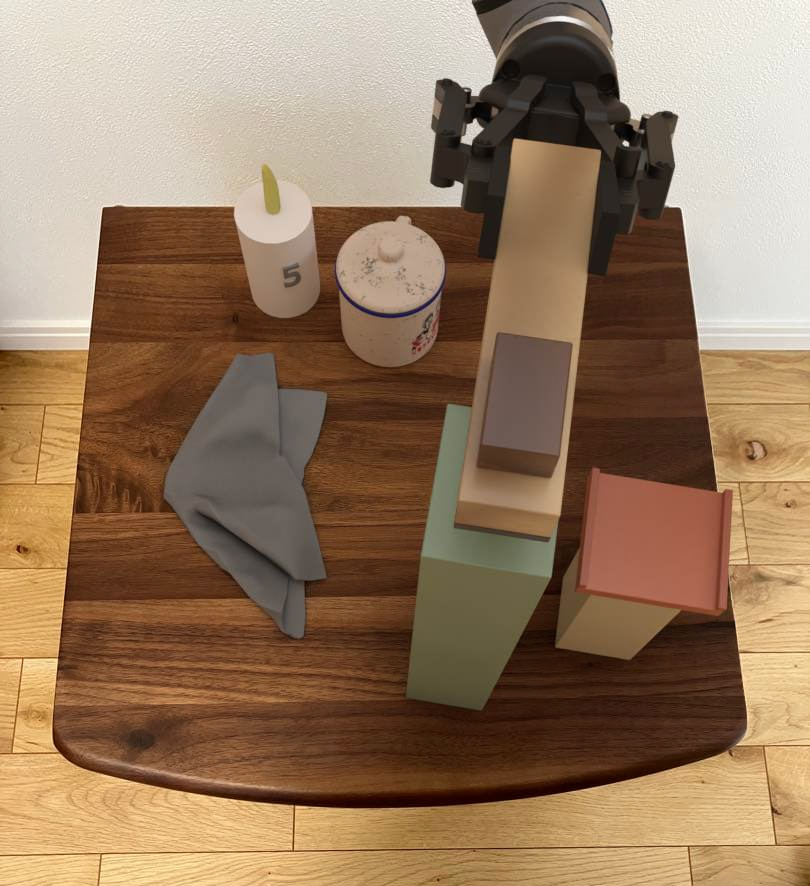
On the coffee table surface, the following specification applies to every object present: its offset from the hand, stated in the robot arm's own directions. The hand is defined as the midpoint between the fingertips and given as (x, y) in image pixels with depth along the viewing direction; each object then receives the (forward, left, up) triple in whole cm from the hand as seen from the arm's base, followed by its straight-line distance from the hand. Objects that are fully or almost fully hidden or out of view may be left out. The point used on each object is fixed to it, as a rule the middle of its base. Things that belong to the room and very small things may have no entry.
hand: (547, 235), depth 40 cm
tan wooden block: (0, +3, -4) cm, 5 cm away
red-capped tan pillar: (-11, +3, -41) cm, 43 cm away
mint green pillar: (0, +8, -41) cm, 42 cm away
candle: (+20, -23, -41) cm, 51 cm away
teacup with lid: (+10, -22, -41) cm, 48 cm away
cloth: (+19, -3, -41) cm, 46 cm away
